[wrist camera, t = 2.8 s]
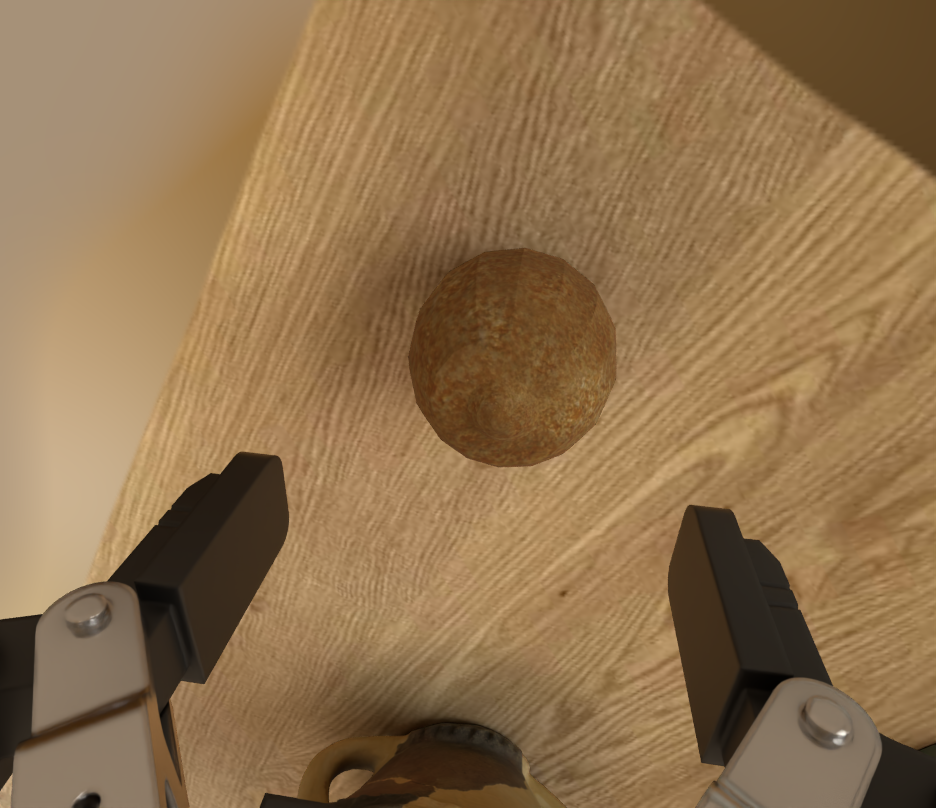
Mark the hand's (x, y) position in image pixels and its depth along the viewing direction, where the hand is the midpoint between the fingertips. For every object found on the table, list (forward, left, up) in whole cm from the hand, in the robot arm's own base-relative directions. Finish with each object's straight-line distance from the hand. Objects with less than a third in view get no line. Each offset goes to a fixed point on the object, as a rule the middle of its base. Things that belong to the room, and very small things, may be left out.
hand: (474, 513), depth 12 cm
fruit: (0, 0, -12) cm, 12 cm away
